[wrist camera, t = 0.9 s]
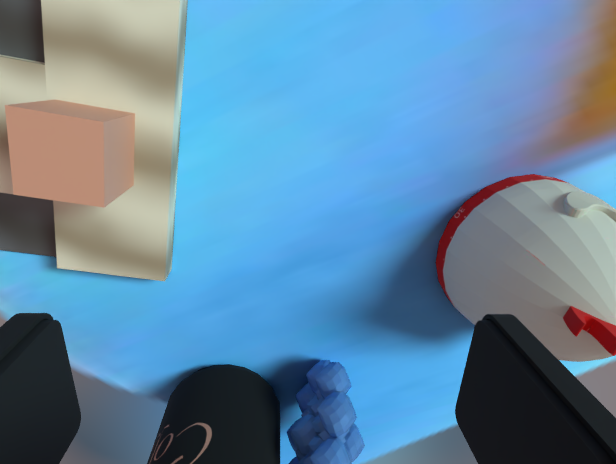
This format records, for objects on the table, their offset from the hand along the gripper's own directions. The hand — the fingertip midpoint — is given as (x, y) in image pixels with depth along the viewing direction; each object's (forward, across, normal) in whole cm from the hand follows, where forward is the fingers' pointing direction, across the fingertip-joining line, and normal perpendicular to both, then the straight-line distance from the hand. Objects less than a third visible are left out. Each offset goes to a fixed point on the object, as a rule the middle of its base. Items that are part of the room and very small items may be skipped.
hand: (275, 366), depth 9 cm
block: (+20, +12, -1) cm, 24 cm away
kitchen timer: (+23, -21, +7) cm, 32 cm away
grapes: (+23, -4, +22) cm, 32 cm away
